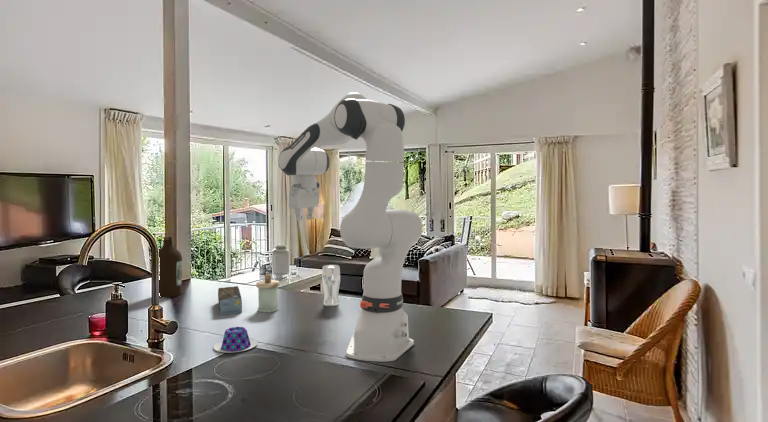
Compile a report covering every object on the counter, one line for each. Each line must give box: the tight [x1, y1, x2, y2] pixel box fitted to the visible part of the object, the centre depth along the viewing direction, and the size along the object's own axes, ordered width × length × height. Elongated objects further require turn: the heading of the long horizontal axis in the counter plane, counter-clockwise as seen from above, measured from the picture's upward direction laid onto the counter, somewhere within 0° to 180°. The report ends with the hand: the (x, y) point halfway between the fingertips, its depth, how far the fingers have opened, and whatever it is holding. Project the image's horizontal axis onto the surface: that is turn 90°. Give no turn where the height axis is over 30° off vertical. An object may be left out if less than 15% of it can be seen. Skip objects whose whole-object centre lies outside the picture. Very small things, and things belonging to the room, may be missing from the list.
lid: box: [255, 273, 280, 288], centre depth 165 cm, size 8×8×4 cm
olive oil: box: [158, 235, 183, 298], centre depth 188 cm, size 11×11×25 cm
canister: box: [257, 286, 280, 313], centre depth 165 cm, size 8×8×9 cm
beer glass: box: [321, 264, 341, 307], centre depth 173 cm, size 7×7×15 cm
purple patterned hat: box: [213, 326, 259, 354], centre depth 127 cm, size 12×12×5 cm
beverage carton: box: [217, 285, 243, 316], centre depth 169 cm, size 8×19×7 cm, turn 22°
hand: (304, 219), depth 172 cm, fingers open, 8 cm apart
